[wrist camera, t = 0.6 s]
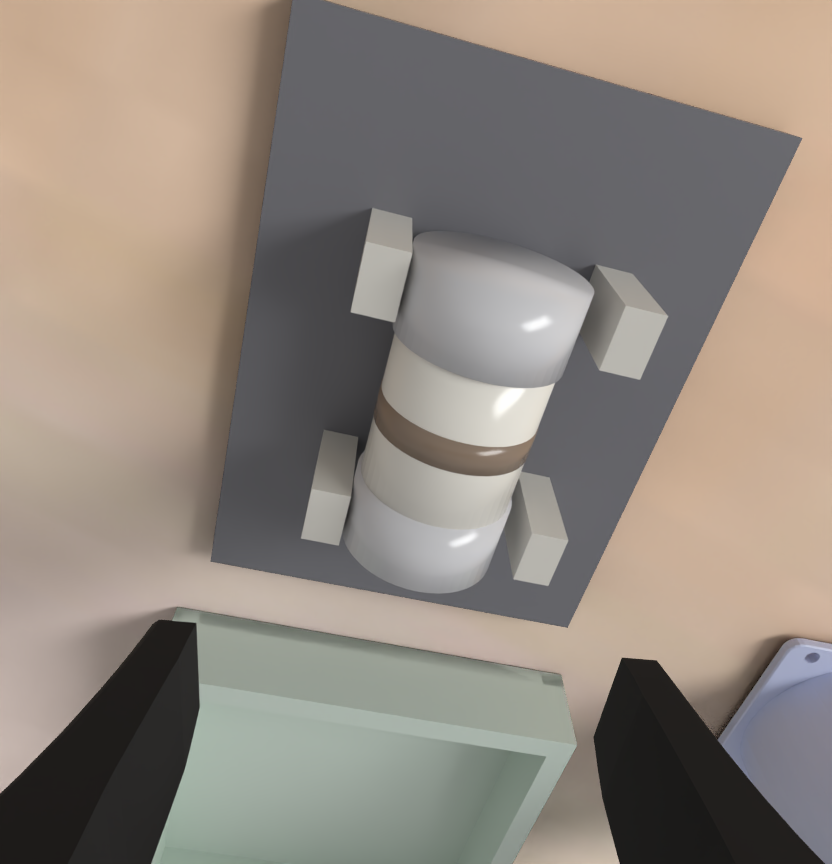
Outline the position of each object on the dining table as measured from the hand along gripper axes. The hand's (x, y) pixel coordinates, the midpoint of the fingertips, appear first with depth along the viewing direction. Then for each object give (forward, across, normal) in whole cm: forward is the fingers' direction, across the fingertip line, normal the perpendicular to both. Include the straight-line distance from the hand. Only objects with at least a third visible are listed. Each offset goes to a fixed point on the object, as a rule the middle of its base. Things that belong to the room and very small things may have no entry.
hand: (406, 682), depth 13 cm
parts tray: (+10, +1, +17) cm, 20 cm away
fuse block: (+10, -1, -1) cm, 10 cm away
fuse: (+10, -1, -1) cm, 10 cm away
